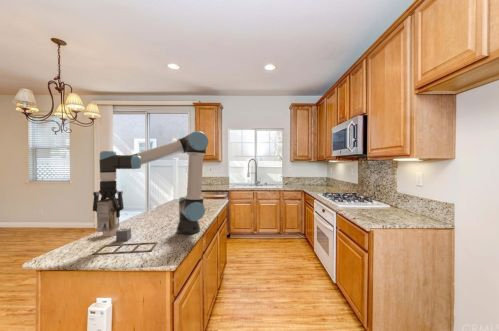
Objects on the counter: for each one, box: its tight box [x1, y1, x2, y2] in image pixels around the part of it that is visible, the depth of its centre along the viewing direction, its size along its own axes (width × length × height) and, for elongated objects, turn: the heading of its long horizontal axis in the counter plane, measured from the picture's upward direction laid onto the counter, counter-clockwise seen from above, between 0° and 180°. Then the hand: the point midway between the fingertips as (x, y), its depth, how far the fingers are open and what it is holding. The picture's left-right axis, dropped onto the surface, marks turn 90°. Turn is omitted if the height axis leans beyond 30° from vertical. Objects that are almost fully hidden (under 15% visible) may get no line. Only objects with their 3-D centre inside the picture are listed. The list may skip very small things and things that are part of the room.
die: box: [115, 227, 132, 243], centre depth 138 cm, size 6×6×6 cm
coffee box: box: [96, 197, 120, 233], centre depth 122 cm, size 9×6×16 cm
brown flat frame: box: [92, 241, 158, 256], centre depth 124 cm, size 28×13×1 cm, turn 98°
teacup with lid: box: [102, 227, 119, 238], centre depth 148 cm, size 12×9×12 cm
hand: (108, 223), depth 122 cm, fingers closed on coffee box, 7 cm apart
